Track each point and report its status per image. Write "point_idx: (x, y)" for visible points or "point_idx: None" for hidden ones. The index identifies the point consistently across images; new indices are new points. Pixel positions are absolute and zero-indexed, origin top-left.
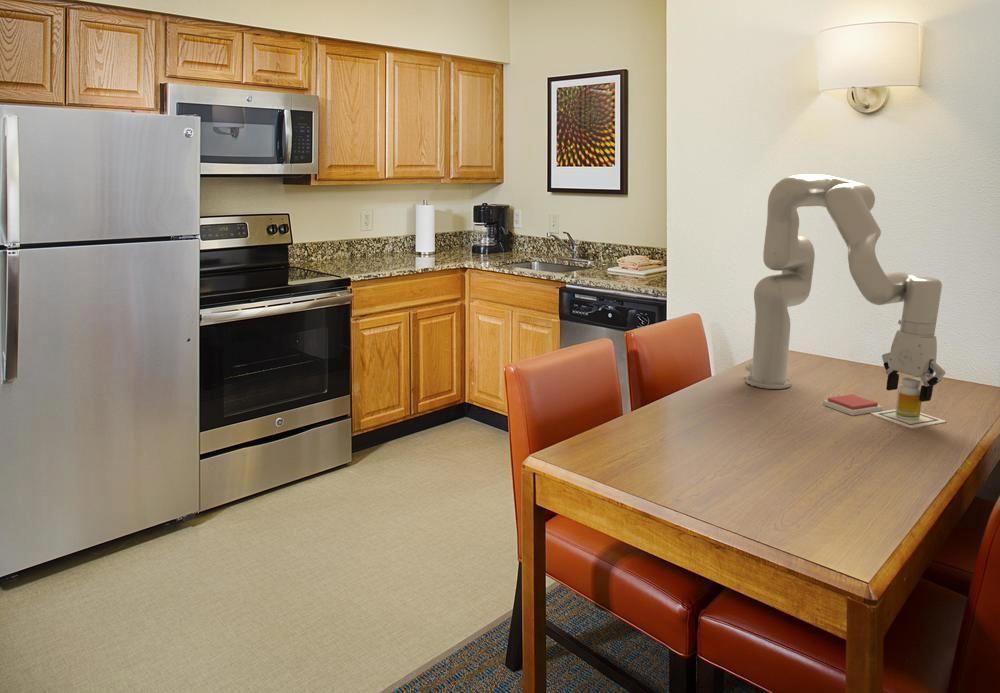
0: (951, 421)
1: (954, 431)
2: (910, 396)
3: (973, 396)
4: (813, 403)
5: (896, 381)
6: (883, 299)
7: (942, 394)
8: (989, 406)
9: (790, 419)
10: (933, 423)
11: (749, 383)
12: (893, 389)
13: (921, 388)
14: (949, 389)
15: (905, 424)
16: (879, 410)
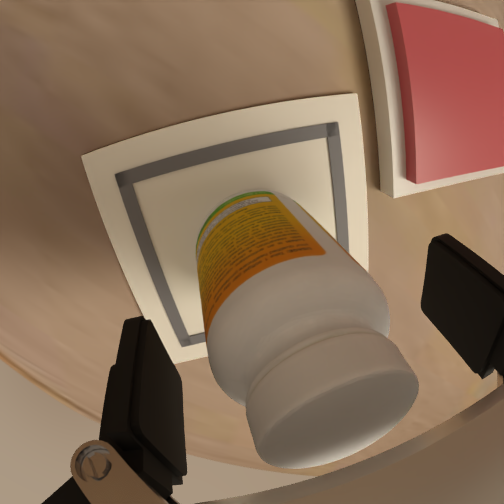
0: (181, 379)
1: (55, 325)
2: (221, 295)
3: (356, 461)
4: (495, 9)
5: (455, 330)
6: None
7: (397, 426)
8: (291, 472)
9: None
10: (138, 304)
11: None
12: (424, 280)
13: (124, 404)
14: (407, 438)
15: (129, 153)
16: (381, 175)
